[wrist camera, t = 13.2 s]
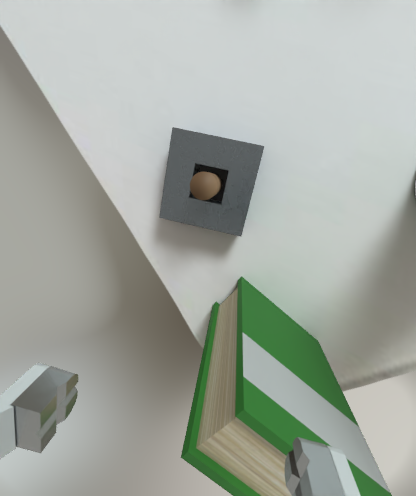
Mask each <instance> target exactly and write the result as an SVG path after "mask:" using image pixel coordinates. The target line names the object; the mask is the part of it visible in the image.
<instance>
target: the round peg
mask: <svg viewBox="0 0 416 496" xmlns="http://www.w3.org/2000/svg"><path fill="white" fill-rule="evenodd" d="M222 185H223V183H222V179H221V178H220V176H219V175H217V174H215V173H210V172H199V173H197V174H195V175H194V176H193V177H192V179H191V181H190V190H191V193H192V194H193V196H194V197H196V198H197V199H199V200H208V199H210V198H212V197H213V196H215V195H216V194H217V193H219V192H220V191H221V189H222Z"/></svg>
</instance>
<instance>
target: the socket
mask: <svg viewBox="0 0 416 496" xmlns="http://www.w3.org/2000/svg"><path fill="white" fill-rule="evenodd" d="M263 149H264V146H261V145H256V144H251V143H246V142H241V141H236V140H232V139H227V138H222V137H217V136H212V135H207V134H203V133H198V132H193V131H188V130H183V129H178V128H174V127H173V128H172V135H171V142H170V149H169V156H168V162H167V169H166V176H165V183H164V190H163V197H162V204H161V211H160V218H164V219H168V220H172V221H177V222H181V223H185V224H190V225H194V226H198V227H203V228H207V229H211V230H216V231H220V232H224V233H229V234H233V235H237V236H241V235H242V231H243V227H244V223H245V219H246V215H247V212H248V208H249V204H250V200H251V196H252V192H253V188H254V184H255V180H256V176H257V173H258V169H259V165H260V161H261V157H262V153H263ZM200 165H204V166H209V167H213V168H218V169H223V170H227V171H229V172H228V177H227V181H226V186H225V190H224V195H223V199H222V202H221V201H217V200H212V199H208V200H199V199H197V198H196V197H194V196H193V194H192V193H191V190H190V181H191V179H192V177H193V176H194V175H195V174H197V173H198V172H199V166H200Z"/></svg>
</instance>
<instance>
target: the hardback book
mask: <svg viewBox="0 0 416 496" xmlns="http://www.w3.org/2000/svg"><path fill="white" fill-rule="evenodd" d="M296 437H300V438H303V439H307V440H311V441H314V442H318V443H322V444H325V445H327V446H331V447H335V448H338V449H341V450H342V451H343V452H344V454H345V456H346V459H347V461H348V464H349V467H350V469H351V472H352V474H353V477H354V480H355V482H356V485H357V487H358V490H359V493H360V495H361V496H392V495H391V493H390V491H389V489H388V486H387V485H386V482H385V480H384V478H383V476H382V474H381V472H380V470H379V468H378V466H377V463H376V461H375V459H374V457H373V455H372V453H371V451H370V449H369V447H368V445H367V443H366V441H365V438H364V436H363V434H362V432H361V430H360V428H359V426H358V424H357V422H356V420H355V417H354V415H353V413H352V412H351V409H350V407H349V405H348V403H347V401H346V399H345V396H344V394H343V392H342V390H341V388H340V386H339V384H338V382H337V380H336V378H335V376H334V373H333V371H332V369H331V367H330V365H329V363H328V361H327V359H326V357H325V355H324V352H323V350H322V348H321V346H320V344H319V342H318V341H317V340H316V339H315V338H314V337H313V336H311V335H310V334H309V333H308V332H307V331H306V330H304V329H303V328H302V327H301V326H300V325H298V324H297V323H296V322H295V321H294V320H292V319H291V318H290V317H289V316H288V315H287V314H285V313H284V312H283V311H282V310H281V309H279V308H278V307H277V306H276V305H275V304H274V303H272V302H271V301H270V300H269V299H268V298H266V297H265V296H264V295H263V294H262V293H260V292H259V291H258V290H257V289H256V288H255V287H253V286H252V285H251V284H250V283H249V282H247V281H246V280H245V279H244V278H243V277H241V278H240V279H239V280H238V288H237V289H236V290H235V291H234V292H233V293H232V294H231V295H230V296H229V297H228V298H227V299H226V300H225V301H224V302H223V303H222V304H221V305H220V304H218V303H217V302H216V303H215V304H214V305H213V307H212V312H211V317H210V321H209V326H208V331H207V336H206V340H205V345H204V350H203V355H202V360H201V364H200V369H199V374H198V379H197V383H196V388H195V393H194V398H193V402H192V407H191V412H190V417H189V422H188V426H187V431H186V436H185V441H184V445H183V450H182V455H181V458H183V459H184V460H185V461H187V462H188V463H189V464H191V465H192V466H193V467H195V468H196V469H198V470H199V471H200V472H202V473H203V474H205V475H206V476H207V477H209V478H210V479H211V480H213V481H214V482H215V483H217V484H218V485H219V486H221V487H222V488H224V489H225V490H226V491H228V492H229V493H231V494H232V495H233V496H292V495H291V494H290V492H289V490H288V489H287V487H286V482H285V469H284V468H285V460H286V457H287V454H288V452H290V451H292V450H293V444H292V443H293V441H294V439H295V438H296Z"/></svg>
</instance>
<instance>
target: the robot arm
mask: <svg viewBox="0 0 416 496" xmlns="http://www.w3.org/2000/svg"><path fill="white" fill-rule="evenodd" d="M415 196H416V182H415ZM77 382H78V375H77V374H74V373H71V372H68V371H65V370H62V369H58V368H56V367H52V366H49V365H46V364H42V363H37V364H35V365H33V366H32V367H31V368H30V369H29V370H28V371H27V372H25V373H24V374H23V375H22V376H21V377H20V378H19V379H18V380H17V381H16V382H14V383H13V384H12V385H11V386H10V387H9V388H8V389H7V390H6V391H5V392H3V393H2V394H1V395H0V459H1V458H2V457H4V456H5V455H7V454H8V453H10V452H11V451H13V450H14V449H16V447H20V448H23V449H27V450H31V451H35V452H38V453H41V452H42V451H43V449H44V448H45V447H46V445H47V444H48V443H49V441H50V440H51V439H52V437H53V436H54V434H55V433H56V425H57V424H58V423H60V422H62V421H64V420H65V419H66V418H67V416H68V415H69V414H70V412H71V410H72V408H73V406H74V404H75V402H76V399H77V392H78V391H77V389H76V387H75V385H76V384H77ZM292 444H293V450H292V451H290V452H288V454H287V457H286V460H285V468H284V469H285V482H286V487H287V489H288V490H289V492H290V494H291V495H292V496H361V495H360V493H359V490H358V487H357V485H356V482H355V480H354V477H353V474H352V472H351V469H350V467H349V464H348V461H347V459H346V456H345V454H344V452H343V451H342V450H341V449H338V448H335V447H331V446H327V445H325V444H322V443H318V442H314V441H311V440H307V439H303V438H300V437H296V438H295V439H294V441H293V443H292Z"/></svg>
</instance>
